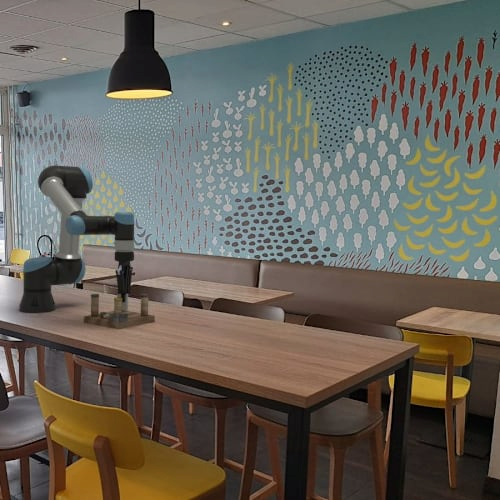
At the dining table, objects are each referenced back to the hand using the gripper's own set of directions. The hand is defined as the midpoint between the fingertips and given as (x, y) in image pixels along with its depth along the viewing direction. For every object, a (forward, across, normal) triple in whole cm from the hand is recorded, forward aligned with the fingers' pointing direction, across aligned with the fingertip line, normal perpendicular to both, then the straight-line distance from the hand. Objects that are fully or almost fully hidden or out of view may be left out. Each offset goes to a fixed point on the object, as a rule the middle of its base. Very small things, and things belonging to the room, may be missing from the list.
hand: (124, 309), depth 230 cm
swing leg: (+3, +2, -5) cm, 6 cm away
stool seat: (+6, -6, -4) cm, 9 cm away
